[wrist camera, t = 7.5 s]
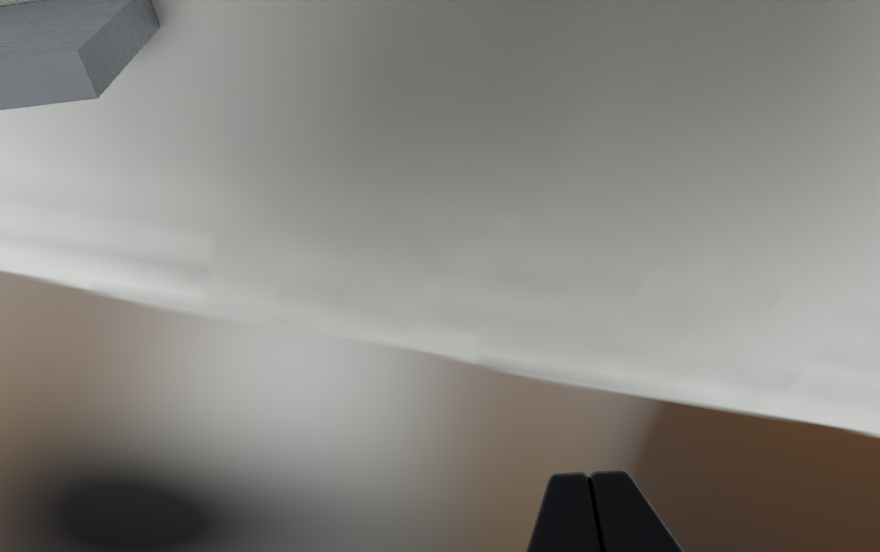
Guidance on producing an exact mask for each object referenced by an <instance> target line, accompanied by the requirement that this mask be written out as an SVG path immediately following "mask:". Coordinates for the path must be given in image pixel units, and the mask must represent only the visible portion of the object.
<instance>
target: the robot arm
mask: <svg viewBox="0 0 880 552" xmlns="http://www.w3.org/2000/svg"><path fill="white" fill-rule="evenodd" d="M526 552H684V551H683V550H682V548H681V547H680V546H679V544H678V543H677V541H676V540H675V538H674V537H673V536H672V534H671V533H670V531H669V530H668V529H667V527H666V526H665V524H664V523H663V521H662V520H661V519H660V517H659V516H658V514H657V513H656V511H655V510H654V509H653V507H652V506H651V504H650V503H649V501H648V500H647V499H646V497H645V496H644V494H643V493H642V491H641V490H640V489H639V487H638V486H637V484H636V483H635V482H634V480H633V479H632V478H631V476H630V475H629V474H628V473H627V472H626V471H623V470H608V471H594V472H592V473H590V475H589V478H588V476H587V475H586V474H585V473H583V472H569V473H555V474H553V475H551V477H550V478H549V480H548V483H547V486H546V490H545V493H544V496H543V499H542V503H541V506H540V509H539V512H538V516H537V519H536V522H535V525H534V528H533V532H532V535H531V538H530V541H529V545H528V548H527V551H526Z"/></svg>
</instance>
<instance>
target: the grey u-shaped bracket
mask: <svg viewBox="0 0 880 552" xmlns="http://www.w3.org/2000/svg"><path fill="white" fill-rule="evenodd" d="M159 28H160V27H159V25H158V22H157V19H156V16H155V13H154V11H153V8H152V5H151V2H150V0H42V1H35V2H27V3H20V4H13V5H6V6H0V110H5V109H14V108H22V107H30V106H38V105H46V104H55V103H63V102H71V101H79V100H87V99H96V98H99V96H100V95H101V94H102V93H103V92H104V91H105V90H106V88H107V87H108V86H109V85H110V84H111V83H112V82H113V80H114V79H115V78H116V77H117V76H118V75H119V74H120V72H121V71H122V70H123V69H124V68H125V67H126V66H127V64H128V63H129V62H130V61H131V60H132V59H133V58H134V57H135V55H136V54H137V53H138V52H139V51H140V50H141V49H142V47H143V46H144V45H145V44H146V43H147V42H148V41H149V39H150V38H151V37H152V36H153V35H154V34H155V33H156V31H157V30H158V29H159Z"/></svg>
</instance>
